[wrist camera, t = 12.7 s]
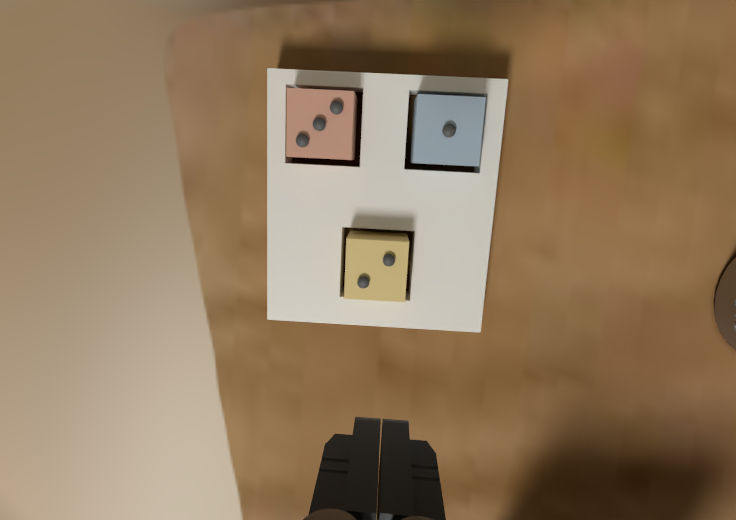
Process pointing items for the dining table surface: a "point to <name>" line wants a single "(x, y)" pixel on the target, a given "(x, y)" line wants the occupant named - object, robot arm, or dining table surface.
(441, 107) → the tile one
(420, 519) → the robot arm
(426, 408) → the dining table surface
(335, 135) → the tile three
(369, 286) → the tile two
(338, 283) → the tile board
